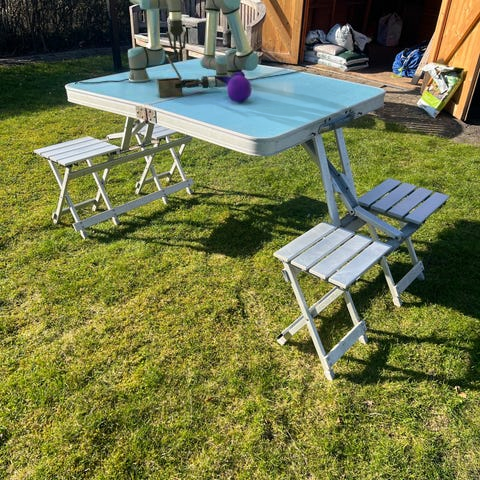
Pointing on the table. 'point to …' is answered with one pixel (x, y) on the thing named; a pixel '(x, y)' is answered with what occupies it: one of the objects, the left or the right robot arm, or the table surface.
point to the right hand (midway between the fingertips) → (174, 84)
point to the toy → (237, 86)
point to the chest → (169, 87)
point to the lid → (173, 64)
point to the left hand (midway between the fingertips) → (178, 60)
